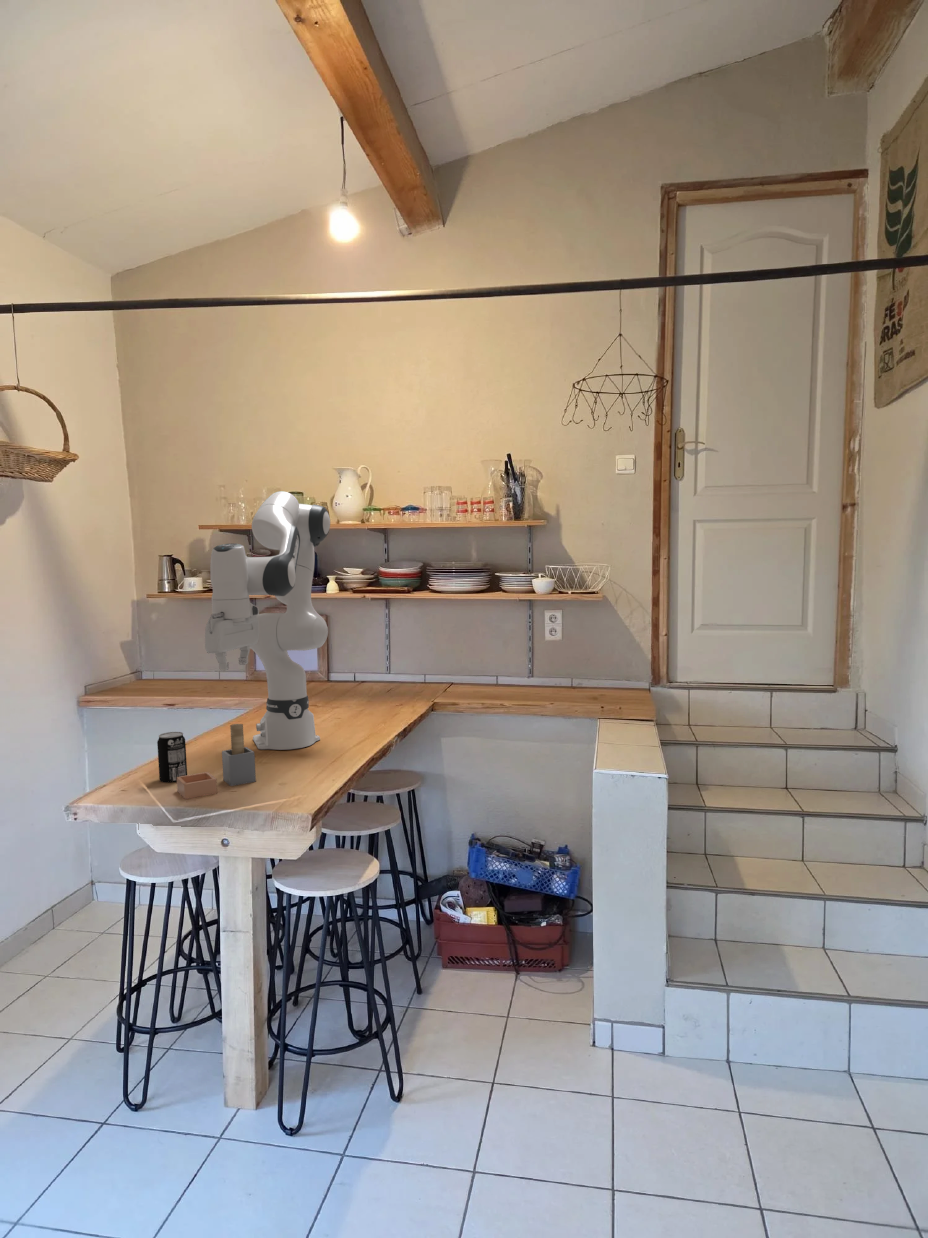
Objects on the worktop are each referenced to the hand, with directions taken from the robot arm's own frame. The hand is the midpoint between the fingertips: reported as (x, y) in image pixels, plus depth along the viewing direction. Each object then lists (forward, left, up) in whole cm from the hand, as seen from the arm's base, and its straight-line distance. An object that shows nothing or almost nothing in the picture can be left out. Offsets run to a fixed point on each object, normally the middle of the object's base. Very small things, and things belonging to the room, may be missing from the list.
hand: (234, 667), depth 193 cm
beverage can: (-12, -13, -29) cm, 34 cm away
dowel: (0, 0, -28) cm, 28 cm away
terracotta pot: (+3, -11, -29) cm, 31 cm away
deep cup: (0, 0, -29) cm, 29 cm away
